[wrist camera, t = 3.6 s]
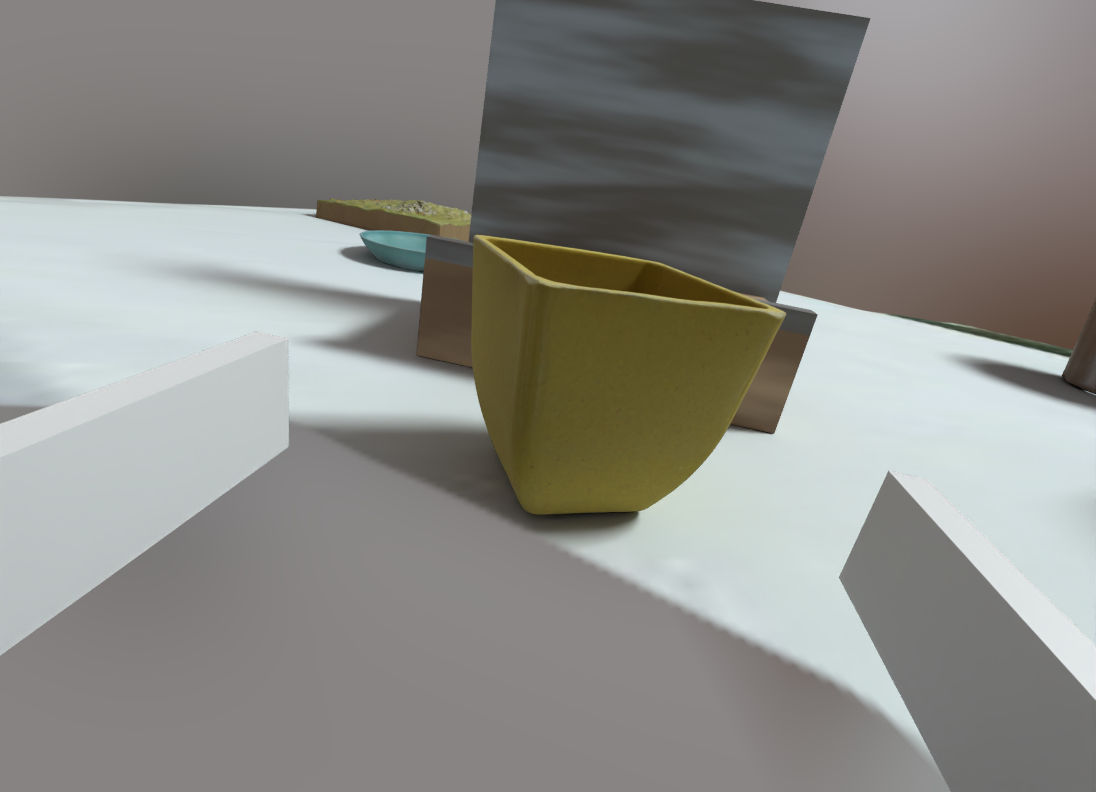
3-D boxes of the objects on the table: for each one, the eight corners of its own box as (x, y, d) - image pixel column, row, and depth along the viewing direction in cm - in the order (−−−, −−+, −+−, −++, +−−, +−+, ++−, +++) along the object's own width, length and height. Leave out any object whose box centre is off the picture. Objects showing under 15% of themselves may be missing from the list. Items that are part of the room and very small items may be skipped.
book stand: (791, 437, 32) (982, -67, 23) (401, 351, 34) (438, -142, 25) (747, 366, 45) (858, 27, 36) (467, 308, 47) (507, -27, 38)
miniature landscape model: (315, 220, 82) (315, 185, 80) (407, 220, 103) (409, 192, 101) (438, 250, 76) (441, 213, 74) (509, 243, 97) (514, 214, 95)
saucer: (453, 255, 73) (455, 235, 72) (512, 282, 62) (516, 259, 61) (341, 247, 64) (341, 224, 63) (388, 277, 54) (389, 250, 53)
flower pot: (617, 434, 28) (660, 258, 25) (715, 541, 21) (795, 310, 17) (447, 432, 25) (470, 232, 22) (488, 557, 17) (533, 280, 14)
